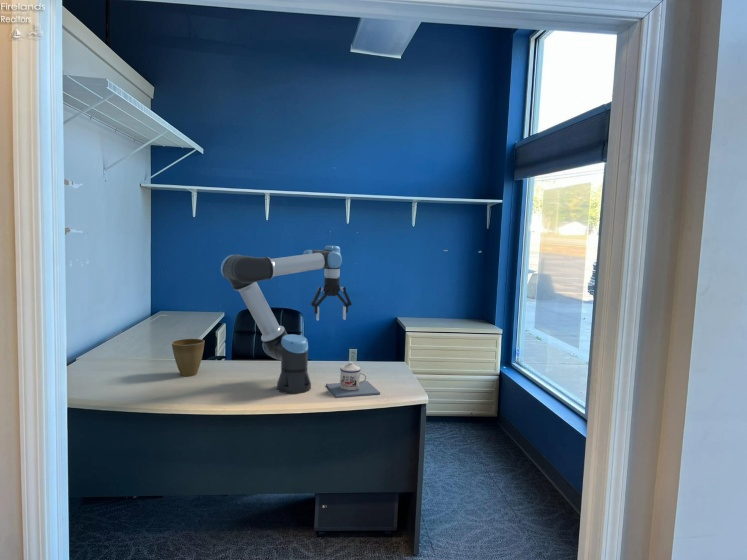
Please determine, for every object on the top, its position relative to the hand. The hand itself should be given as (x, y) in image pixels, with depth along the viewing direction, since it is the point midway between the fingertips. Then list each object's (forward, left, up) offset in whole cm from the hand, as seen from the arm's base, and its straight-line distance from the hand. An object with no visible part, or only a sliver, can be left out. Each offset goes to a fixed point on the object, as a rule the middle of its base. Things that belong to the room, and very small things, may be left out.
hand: (331, 319), depth 261 cm
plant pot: (-67, +12, -27) cm, 73 cm away
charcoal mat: (+3, -30, -27) cm, 40 cm away
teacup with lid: (+3, -30, -26) cm, 40 cm away
